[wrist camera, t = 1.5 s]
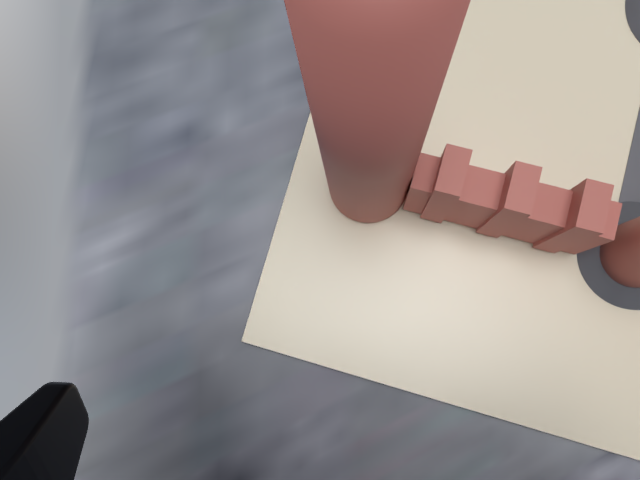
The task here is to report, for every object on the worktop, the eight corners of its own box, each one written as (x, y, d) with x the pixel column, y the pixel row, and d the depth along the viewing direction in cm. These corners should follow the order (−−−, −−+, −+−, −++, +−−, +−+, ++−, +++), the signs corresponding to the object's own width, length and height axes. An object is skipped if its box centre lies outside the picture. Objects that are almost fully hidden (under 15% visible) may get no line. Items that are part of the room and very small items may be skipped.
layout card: (951, 552, 19) (962, 557, 19) (242, 341, 22) (241, 341, 22) (1025, 10, 22) (1036, 5, 22) (381, -119, 25) (381, -126, 24)
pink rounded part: (587, 200, 21) (992, -35, 8) (568, 278, 21) (962, 180, 7) (341, 137, 22) (307, -168, 9) (319, 211, 22) (248, 14, 8)
